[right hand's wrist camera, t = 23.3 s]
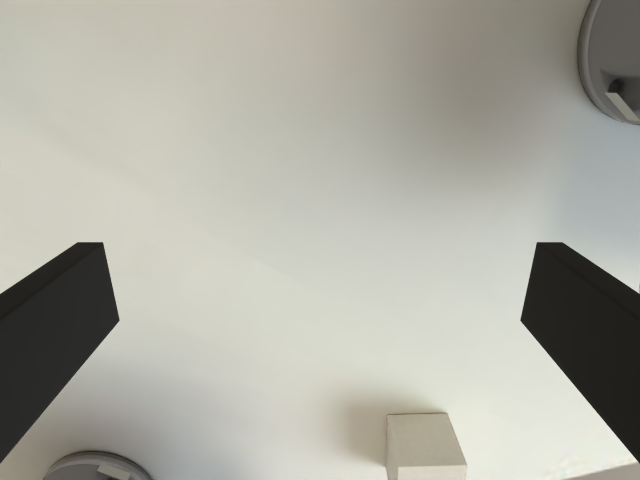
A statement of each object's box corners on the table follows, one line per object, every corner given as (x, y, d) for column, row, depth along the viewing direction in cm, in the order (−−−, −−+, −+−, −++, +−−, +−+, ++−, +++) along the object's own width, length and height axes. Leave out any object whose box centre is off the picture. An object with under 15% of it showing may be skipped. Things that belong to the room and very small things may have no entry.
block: (447, 412, 50) (467, 465, 43) (442, 466, 54) (460, 522, 47) (387, 414, 50) (397, 467, 44) (385, 467, 54) (395, 524, 47)
